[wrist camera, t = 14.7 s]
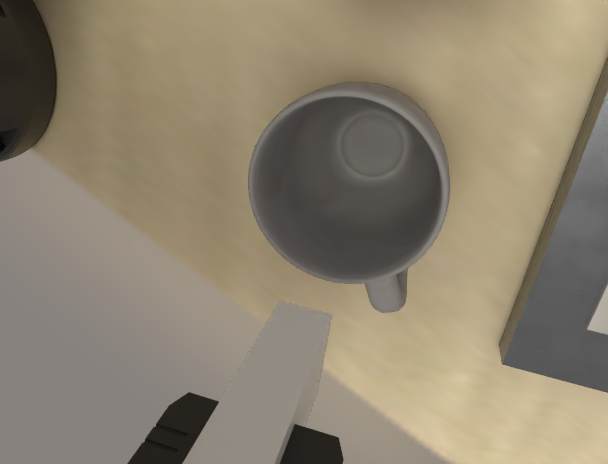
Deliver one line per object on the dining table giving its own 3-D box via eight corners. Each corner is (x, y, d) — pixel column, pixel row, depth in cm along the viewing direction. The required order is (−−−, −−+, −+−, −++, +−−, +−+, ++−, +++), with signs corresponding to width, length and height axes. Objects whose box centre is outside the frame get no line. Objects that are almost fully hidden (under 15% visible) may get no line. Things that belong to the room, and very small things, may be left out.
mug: (283, 93, 30) (217, 123, 21) (430, 46, 27) (421, 59, 18) (339, 268, 34) (302, 354, 25) (474, 244, 31) (484, 333, 22)
